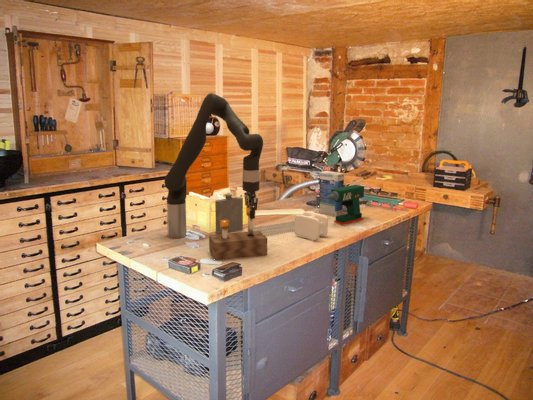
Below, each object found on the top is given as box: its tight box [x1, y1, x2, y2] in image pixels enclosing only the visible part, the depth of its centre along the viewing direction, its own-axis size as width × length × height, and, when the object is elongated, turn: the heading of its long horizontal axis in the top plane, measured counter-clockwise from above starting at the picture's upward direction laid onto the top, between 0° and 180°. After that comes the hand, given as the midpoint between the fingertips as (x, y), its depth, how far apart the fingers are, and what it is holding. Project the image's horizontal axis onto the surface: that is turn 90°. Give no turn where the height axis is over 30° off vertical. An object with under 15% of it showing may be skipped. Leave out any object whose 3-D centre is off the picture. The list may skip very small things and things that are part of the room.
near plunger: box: [220, 219, 229, 239], centre depth 196 cm, size 4×4×15 cm
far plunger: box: [245, 207, 254, 237], centre depth 199 cm, size 4×4×15 cm
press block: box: [208, 231, 268, 261], centre depth 199 cm, size 24×12×8 cm, turn 108°
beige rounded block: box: [293, 211, 329, 241], centre depth 224 cm, size 15×11×12 cm
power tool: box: [325, 184, 365, 226], centre depth 248 cm, size 32×7×20 cm, turn 131°
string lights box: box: [318, 170, 345, 218], centre depth 267 cm, size 13×8×26 cm, turn 49°
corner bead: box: [253, 220, 295, 237], centre depth 232 cm, size 29×9×5 cm, turn 120°
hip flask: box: [214, 193, 244, 234], centre depth 230 cm, size 16×4×20 cm, turn 125°
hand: (250, 216), depth 198 cm, fingers closed on far plunger, 4 cm apart
